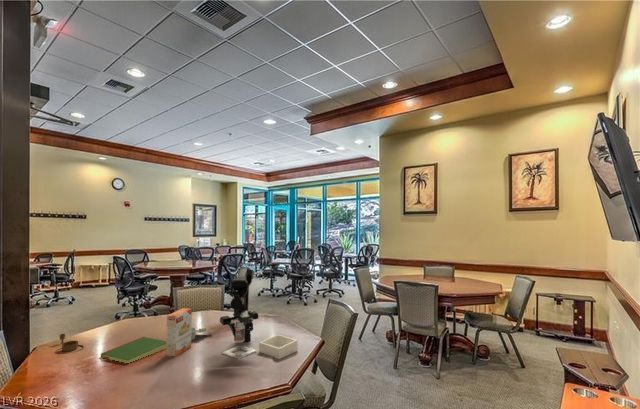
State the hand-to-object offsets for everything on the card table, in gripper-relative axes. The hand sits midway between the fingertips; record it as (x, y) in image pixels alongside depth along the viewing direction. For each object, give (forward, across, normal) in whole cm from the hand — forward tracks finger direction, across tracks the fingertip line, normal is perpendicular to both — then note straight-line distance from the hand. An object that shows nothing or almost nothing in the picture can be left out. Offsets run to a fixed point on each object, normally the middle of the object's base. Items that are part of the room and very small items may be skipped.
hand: (239, 334), depth 174 cm
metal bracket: (+9, -5, +35) cm, 36 cm away
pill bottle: (+3, 0, 0) cm, 3 cm away
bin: (+10, +18, -8) cm, 22 cm away
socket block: (+10, 0, 0) cm, 10 cm away
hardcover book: (+11, -44, +31) cm, 55 cm away
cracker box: (+10, -25, +21) cm, 34 cm away
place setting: (+11, -71, +58) cm, 92 cm away
